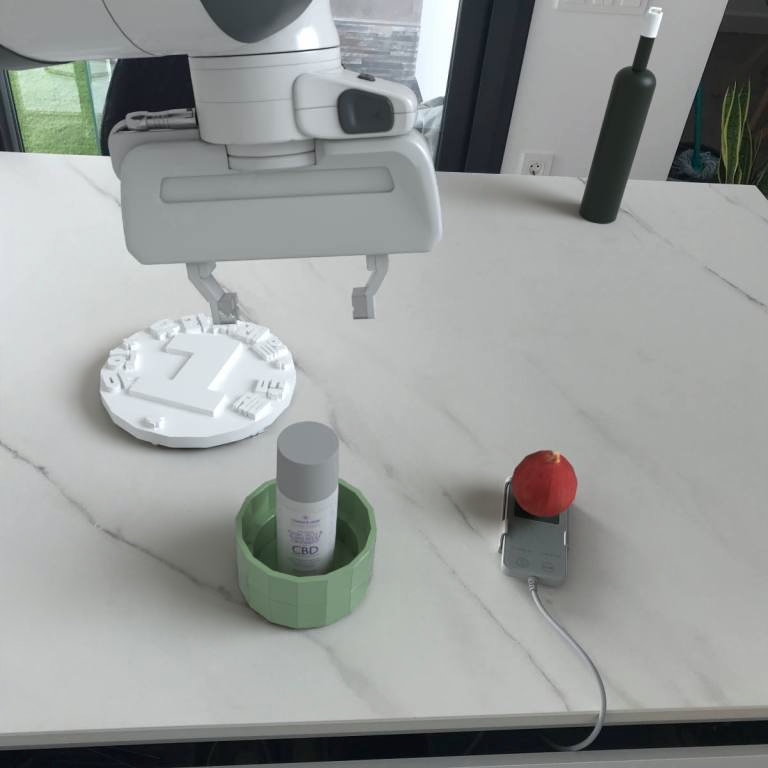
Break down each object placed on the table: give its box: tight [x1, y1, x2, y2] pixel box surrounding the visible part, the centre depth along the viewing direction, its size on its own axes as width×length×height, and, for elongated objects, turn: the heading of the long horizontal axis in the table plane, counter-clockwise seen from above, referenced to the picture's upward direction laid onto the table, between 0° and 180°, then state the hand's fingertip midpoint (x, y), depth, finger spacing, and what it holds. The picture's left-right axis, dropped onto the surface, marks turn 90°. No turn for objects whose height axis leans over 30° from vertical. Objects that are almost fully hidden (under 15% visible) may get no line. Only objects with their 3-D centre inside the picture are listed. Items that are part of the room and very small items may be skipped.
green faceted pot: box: [235, 477, 378, 630], centre depth 63 cm, size 11×11×6 cm
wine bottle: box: [578, 5, 664, 224], centre depth 111 cm, size 6×6×30 cm
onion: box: [511, 449, 579, 518], centre depth 70 cm, size 6×6×8 cm
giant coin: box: [99, 312, 297, 449], centre depth 81 cm, size 20×20×3 cm
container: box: [275, 420, 340, 577], centre depth 60 cm, size 5×5×15 cm
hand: (295, 319), depth 52 cm, fingers open, 8 cm apart
